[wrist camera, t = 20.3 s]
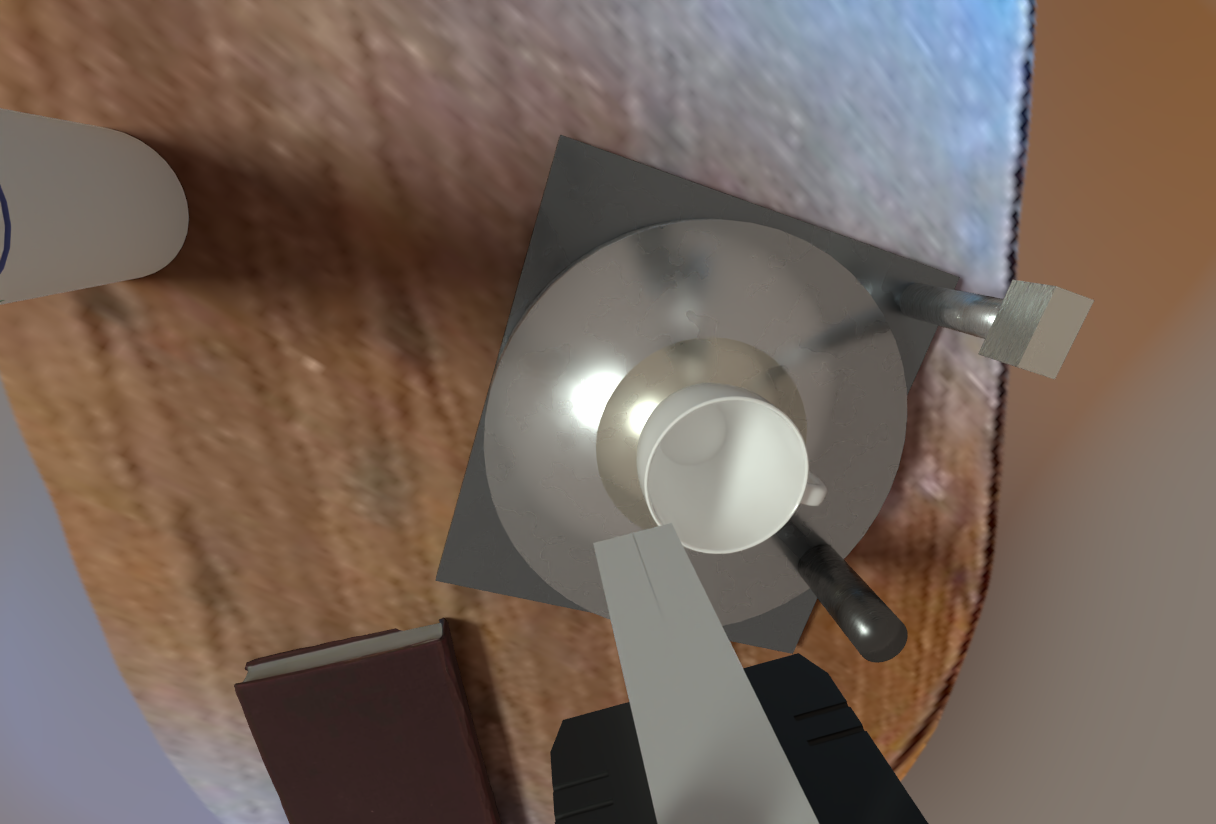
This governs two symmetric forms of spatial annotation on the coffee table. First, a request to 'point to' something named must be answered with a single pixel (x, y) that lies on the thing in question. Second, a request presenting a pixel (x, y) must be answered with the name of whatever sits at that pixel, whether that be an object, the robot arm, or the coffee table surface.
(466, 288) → the coffee table surface
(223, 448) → the coffee table surface
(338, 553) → the coffee table surface
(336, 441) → the coffee table surface
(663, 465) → the cup
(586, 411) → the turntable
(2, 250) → the cylindrical container
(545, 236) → the base
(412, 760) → the book
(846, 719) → the robot arm
